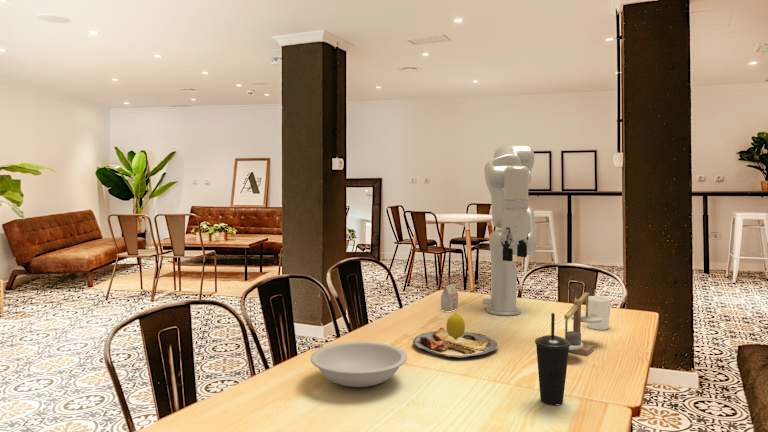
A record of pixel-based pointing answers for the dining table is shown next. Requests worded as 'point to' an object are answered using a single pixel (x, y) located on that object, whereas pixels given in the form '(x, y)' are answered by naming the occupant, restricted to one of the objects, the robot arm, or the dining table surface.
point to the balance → (579, 326)
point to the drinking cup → (552, 365)
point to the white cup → (599, 311)
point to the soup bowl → (358, 362)
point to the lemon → (455, 326)
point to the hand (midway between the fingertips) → (514, 258)
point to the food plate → (455, 343)
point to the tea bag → (449, 298)
